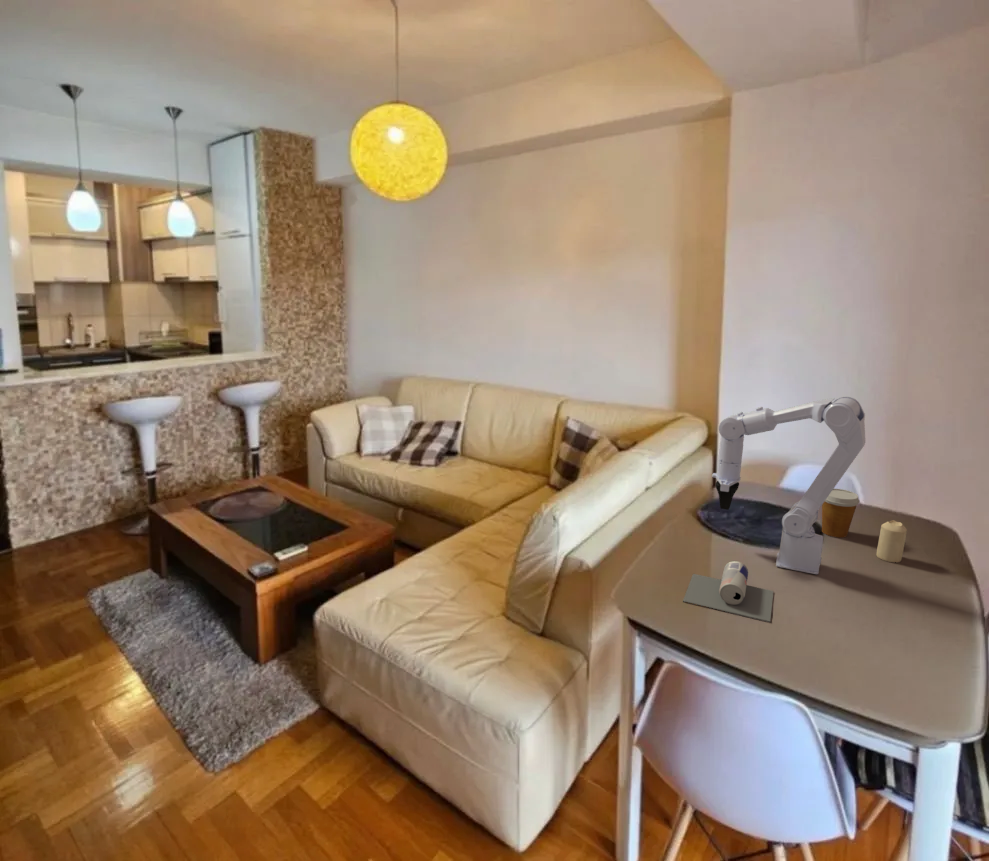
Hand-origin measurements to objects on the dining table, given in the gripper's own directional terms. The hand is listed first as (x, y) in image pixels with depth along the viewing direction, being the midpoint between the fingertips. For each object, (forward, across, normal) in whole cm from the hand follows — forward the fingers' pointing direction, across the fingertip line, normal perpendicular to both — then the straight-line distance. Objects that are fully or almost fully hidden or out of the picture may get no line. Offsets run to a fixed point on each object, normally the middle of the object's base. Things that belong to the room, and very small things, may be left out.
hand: (724, 508), depth 159 cm
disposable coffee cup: (+11, -22, +28) cm, 37 cm away
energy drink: (+7, +20, +6) cm, 22 cm away
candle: (+11, -11, +40) cm, 43 cm away
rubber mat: (+10, +28, +5) cm, 31 cm away
